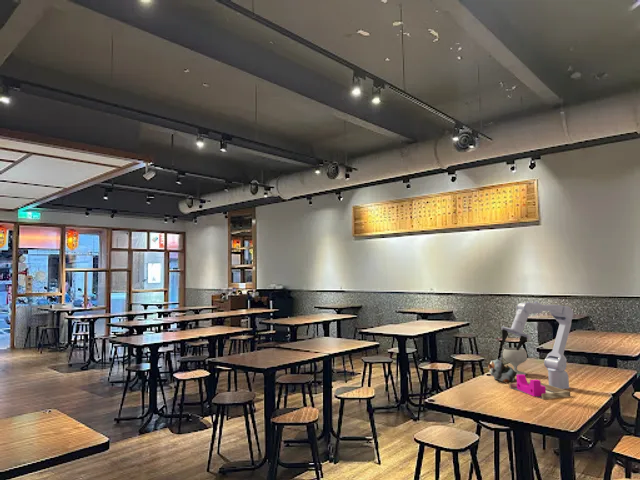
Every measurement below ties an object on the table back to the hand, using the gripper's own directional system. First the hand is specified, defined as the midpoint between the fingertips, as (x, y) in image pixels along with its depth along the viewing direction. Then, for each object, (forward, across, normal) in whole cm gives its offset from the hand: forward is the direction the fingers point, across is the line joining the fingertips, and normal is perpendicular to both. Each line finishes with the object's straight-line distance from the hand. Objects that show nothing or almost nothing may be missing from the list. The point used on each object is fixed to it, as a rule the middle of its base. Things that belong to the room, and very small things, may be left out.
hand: (509, 347), depth 231 cm
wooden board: (+13, +16, +19) cm, 28 cm away
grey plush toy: (+13, -6, +34) cm, 37 cm away
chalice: (+3, -7, +55) cm, 56 cm away
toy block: (+15, +13, +15) cm, 25 cm away
